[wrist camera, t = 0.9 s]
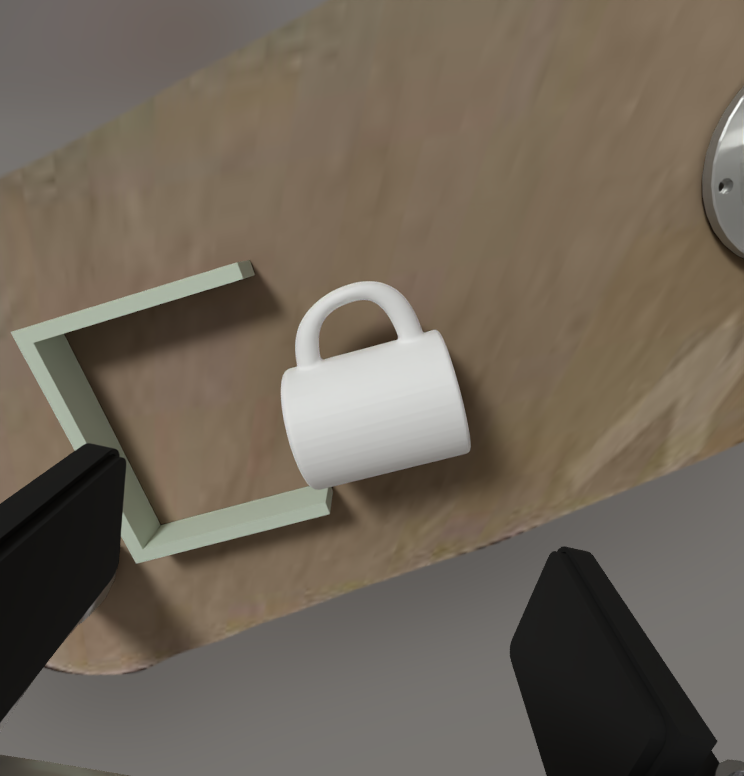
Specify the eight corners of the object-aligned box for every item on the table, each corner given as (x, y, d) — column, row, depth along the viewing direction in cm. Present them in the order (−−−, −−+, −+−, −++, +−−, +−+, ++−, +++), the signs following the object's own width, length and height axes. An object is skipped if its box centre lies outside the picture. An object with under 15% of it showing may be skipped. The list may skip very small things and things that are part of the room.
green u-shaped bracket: (249, 260, 30) (237, 262, 27) (333, 491, 35) (329, 514, 32) (43, 323, 31) (10, 332, 28) (154, 538, 37) (136, 563, 34)
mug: (455, 422, 34) (480, 475, 26) (326, 455, 34) (313, 516, 27) (417, 260, 30) (433, 267, 23) (274, 300, 31) (243, 320, 23)
